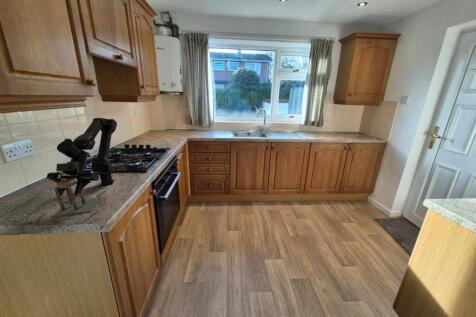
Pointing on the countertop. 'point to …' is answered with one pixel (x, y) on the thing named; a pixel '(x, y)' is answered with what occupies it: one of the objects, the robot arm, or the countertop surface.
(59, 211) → the mat
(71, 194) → the stool
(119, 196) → the countertop surface
